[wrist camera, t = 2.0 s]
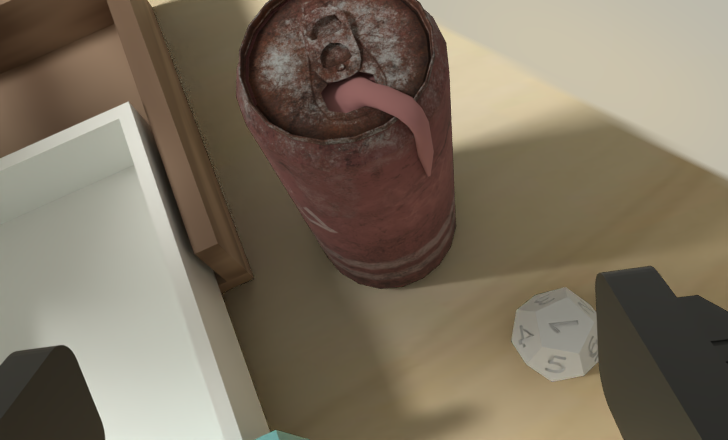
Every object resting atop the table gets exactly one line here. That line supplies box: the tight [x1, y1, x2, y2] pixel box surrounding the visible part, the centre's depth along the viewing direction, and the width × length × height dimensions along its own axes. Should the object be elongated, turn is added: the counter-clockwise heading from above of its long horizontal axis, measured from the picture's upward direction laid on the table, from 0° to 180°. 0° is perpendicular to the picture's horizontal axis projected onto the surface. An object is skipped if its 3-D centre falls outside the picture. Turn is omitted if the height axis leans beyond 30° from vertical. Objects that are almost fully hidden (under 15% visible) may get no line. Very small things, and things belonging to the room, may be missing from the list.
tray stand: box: [0, 0, 254, 293], centre depth 33 cm, size 15×17×5 cm
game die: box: [511, 287, 598, 382], centre depth 28 cm, size 4×4×3 cm
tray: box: [0, 101, 310, 440], centre depth 28 cm, size 15×16×5 cm
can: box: [236, 0, 456, 289], centre depth 25 cm, size 6×6×14 cm
